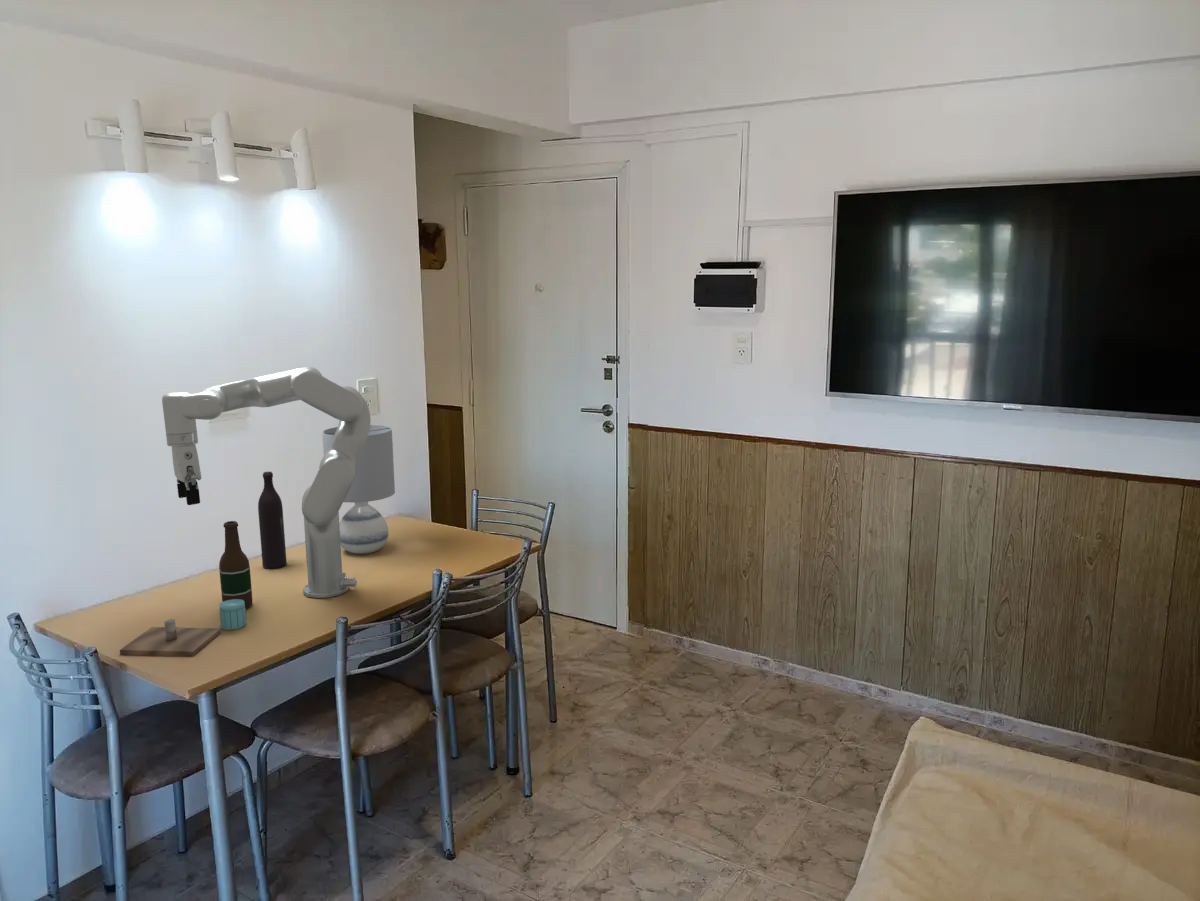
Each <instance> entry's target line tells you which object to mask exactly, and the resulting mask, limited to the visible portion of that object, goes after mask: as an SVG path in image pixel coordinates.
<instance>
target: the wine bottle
mask: <svg viewBox="0 0 1200 901" xmlns="http://www.w3.org/2000/svg"><path fill="white" fill-rule="evenodd" d="M273 477H274V473H273V472H272V471H264V472H263V473H262V478H263V490H262V492H261V494H260V496H259V497H258V498H259V499H258V503H257V509H258V510H257V512H258V526H259V535H260V537H259V538H260V549H261V560H262V567H263V568H264V569H268V570H274V569H276V570H277V569H280V568H283V567H286V565H287V551H286V550H287V549H286V536H285V535H286V534H285V522H284V509H283V502H282V499H281V497H280V495H279V493H278V492H277V490H276V489H275V486H274V481H273Z"/></svg>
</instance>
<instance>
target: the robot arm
mask: <svg viewBox="0 0 1200 901" xmlns="http://www.w3.org/2000/svg"><path fill="white" fill-rule="evenodd" d="M300 400H301V401H302V402H303V403H305V404H306V405H309V406H311V407H312V408H315V409H317V410H319V411H320V412H322V413H324V414H326V415H329V416H330V417H332V418H333V419H336V420H338V426H337V427H338V428H337V430H336V433H335V435H334V437H333V440H332V442H331V444H330V446H329V448H328V450H327V452H326V453H325V455H324V454H323V456H322V458H321V460H320V463H319V466H318V471H317V473H316V475H315V477H314V479H313V481H312V484H310V485H309V486H308V487H307V488H306V489H305V491H304V492H303V495H302V499H301V500H302V501H301V513H302V515H303V523H304V524H303V525H304V539H305V540H304V541H305V557H306V570H307V584H306V585H305V586H304V587H303V589H302V592H303V594H304V596H306V597H308V598H315V599H324V598H325V599H326V598H332V597H336V596H340V595H343V594H345V593H346V592H347V591H348V590H349V588H351V587H353V588H354V587H357V584H358V583H357V582H358V581H357V579H356V578H355V577H347V575H346V574H347V573H346V572H343V566H342V561H343V560H342V547H341V545H340V525H339V523H340V509H341V507H342V505H343V503H344V502H343V501H344V499H345V497H346V495H347V493H348V491H349V489H350V487H351V485H352V483H353V480H354V477H355V464H356V462H357V459H358V457H359V455H360V453H361V451H362V448H363V446H364V444H365V441H366V439H367V437H368V434H369V430H370V425H371V422H372V420H371V419H372V418H371V411H370V408H369V406H368V403H367V401H366V399H365V398H364V396H363V395H362V394H361V393H360V392H359V390H357V389H356V388H354V387H352V386H347V385H346V386H341V385H340V384H337V383H335V382H334V381H332V380H330V379H328V378H326V377H325V376H323V374H322V373H321V372H320V370H319V369H317V368H316V367H312V366H303V367H297V368H293V369H289V370H288V369H287V370H286V371H281V372H280V371H278V372H275V373H271V374H266V375H261V376H258V377H252V378H248V379H243V380H239V381H238V380H237V381H233V382H228V383H223V384H220V385H215V386H211V387H207V388H205V389H202V390H201V391H200V392H198V393H190V392H187V391H173V392H168V393H165V394H163V395H162V397H161V402H162V403H161V404H162V410H163V412H162V413H163V418H164V419H163V421H164V429H165V438H166V446H168V447H171V458H172V464H173V471H174V476H175V478H176V482H177V483H176V487H177V496H178V499H183V498H185V499H186V504H187V505H188V506H194V505H198V504H200V503H201V497H200V489H199V484H198V481H201V480H202V472H201V466H200V460H199V454H198V450H197V446H196V444H198V443H199V438H198V431H197V422H196V420H204V421H206V420H207V421H209V420H210V421H211V420H215V419H217V418H218V417H219V416H221V415H222V413H225V412H229V411H234V410H239V409H244V408H250V407H251V408H252V407H255V408H271V407H275V406H279V405H283V404H286V403H292V402H297V401H300Z"/></svg>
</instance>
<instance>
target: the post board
mask: <svg viewBox="0 0 1200 901" xmlns="http://www.w3.org/2000/svg"><path fill="white" fill-rule="evenodd" d="M163 623H164V626H151V627H150V628H148V629H146V630H145V631H144V632H142V633H141V634H140V635H139V636H137V637H136V638H134V639H133V640H132V641H130V642H129V643H127V644H126V645H124V646H123V647H121V648H120V649H119V655H121V656H122V655H123V656H128V655H129V656H167V657H169V656H170V657H171V656H172V657H195V655H197V654H198V653H199V652H200V651H201V650H203V649H204V648H205V647H206V646H207V645H209V643H211V642H212V641H213V640H214V639H216V638H217V637H218V636H219V635H221V633H222V630H221V629H222V627H221V628H219V627H218V628H217V627H215V628H213V627H176V626H177V625H176V619H172V618H171V619H168V620H165V621H164V622H163Z"/></svg>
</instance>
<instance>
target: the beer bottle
mask: <svg viewBox="0 0 1200 901" xmlns="http://www.w3.org/2000/svg"><path fill="white" fill-rule="evenodd" d="M238 527H239V523H238V522H237V520H230V521H229V520H228V521H225V522H224V523H223V528H224V552H223V553H222V554H221V557H220V559H219V563H218V564H219V565H218V567H219V570H218V571H219V581H220V589H221V591H220V592H221V600H222V602H224V601H227V600H232V599H241V600H244V602H245V610H246V609H248V608H250V607H252V606H253V590H252V577H251V568H250V560H249V558H248V556H247V555H246V554H245V553H244V551H243V550H242V547H241V543H240V537H239V528H238ZM222 602H221V603H222Z"/></svg>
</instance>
